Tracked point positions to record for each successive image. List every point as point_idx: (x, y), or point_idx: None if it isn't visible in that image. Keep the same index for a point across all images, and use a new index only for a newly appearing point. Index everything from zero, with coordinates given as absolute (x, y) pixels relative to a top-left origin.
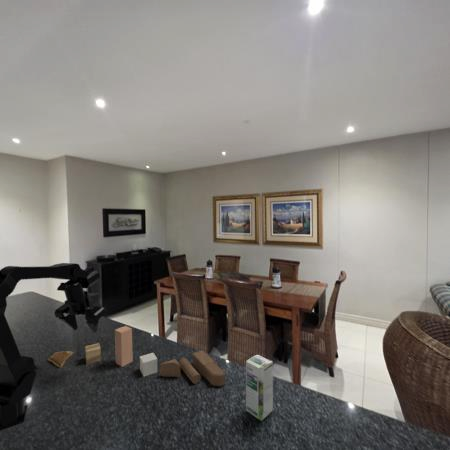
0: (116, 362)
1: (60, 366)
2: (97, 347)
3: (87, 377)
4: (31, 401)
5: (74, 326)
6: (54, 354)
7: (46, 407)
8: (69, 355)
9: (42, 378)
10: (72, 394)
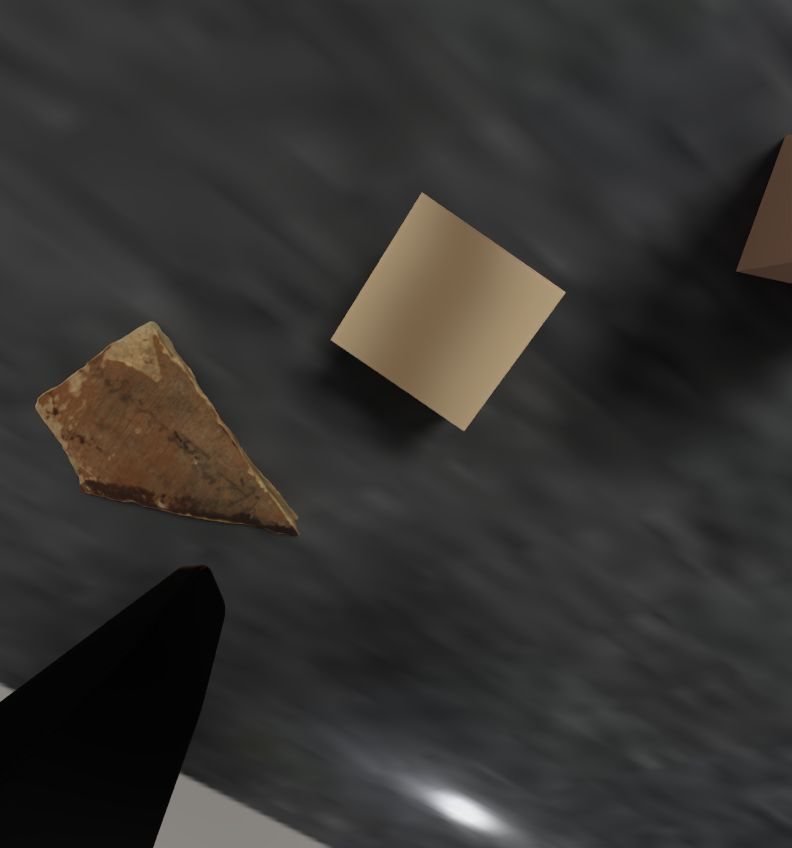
0: (762, 275)
1: (292, 525)
2: (506, 294)
3: (646, 537)
4: (496, 818)
5: (177, 708)
6: (64, 436)
7: (648, 831)
8: (197, 388)
9: (310, 652)
10: (709, 709)
